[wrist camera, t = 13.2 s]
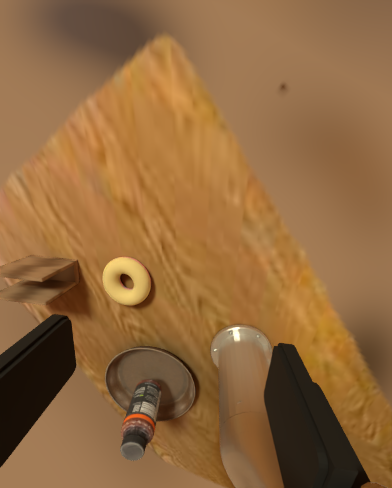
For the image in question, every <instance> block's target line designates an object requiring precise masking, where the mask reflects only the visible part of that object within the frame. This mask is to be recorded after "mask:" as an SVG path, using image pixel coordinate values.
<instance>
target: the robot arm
mask: <svg viewBox="0 0 392 488" xmlns="http://www.w3.org/2000/svg"><path fill="white" fill-rule="evenodd" d="M211 357H212V360H213V362H214V363H215V365H216V366H217V367H218V370H219V424H220V452H221V457H222V461H223V464H224V467H225V470H226V472H227V474H228V476H229V478H230V479H231V481H232V483H233V485H234V486H235V488H387V487H385V486H383V485H380V484H378V483H372V482H370V480H369V478H368V476H367V474H366V472H365V471H364V469H363V467H362V465H361V463H360V461H359V459H358V457H357V455H356V454H355V452H354V450H353V448H352V446H351V444H350V442H349V440H348V438H347V437H346V435H345V433H344V431H343V429H342V427H341V425H340V423H339V422H338V420H337V418H336V416H335V414H334V412H333V410H332V408H331V406H330V405H329V403H328V401H327V399H326V397H325V395H324V393H323V391H322V390H321V388H320V386H319V385H318V384H317V383H314V382H313V381H312V379H311V377H310V375H309V373H308V371H307V369H306V367H305V366H304V364H303V362H302V360H301V358H300V356H299V354H298V352H297V350H296V348H295V346H294V345H292V344H284V343H279V344H278V346H274V348H273V353H272V348H271V344H270V342H269V340H268V338H267V337H266V336H265V335H264V333H262V332H261V331H260V330H258V329H256V328H254V327H251V326H248V325H233V326H229V327H227V328H224V329H223V330H221V331H220V332H218V333H217V334H216V336H215V337H214V338H213V341H212V343H211ZM75 368H76V358H75V350H74V341H73V332H72V324H71V320H69V318H68V316H64V315H56V314H54V315H52V316H50V317H49V318H47V319H46V320H45V321H44V322H42V323H41V324H40V325H38V326H37V327H36V328H35V329H33V330H32V331H31V332H29V333H28V334H27V335H26V336H24V337H23V338H22V339H20V340H19V341H18V342H16V343H15V344H14V345H13V346H11V347H10V348H9V349H7V350H6V351H5V352H3V353H2V354H1V355H0V467H1V466H2V465H3V464H4V463H5V461H6V460H7V459H8V457H9V456H10V455H11V454H12V452H13V451H14V450H15V448H16V447H17V446H18V444H19V443H20V442H21V441H22V439H23V438H24V437H25V435H26V434H27V433H28V431H29V430H30V429H31V428H32V426H33V425H34V424H35V422H36V421H37V420H38V418H39V417H40V416H41V414H42V413H43V412H44V411H45V409H46V408H47V407H48V406H49V404H50V403H51V402H52V400H53V399H54V398H55V396H56V395H57V394H58V393H59V391H60V390H61V389H62V387H63V386H64V385H65V383H66V382H67V381H68V380H69V378H70V377H71V376H72V374H73V372H74V371H75Z"/></svg>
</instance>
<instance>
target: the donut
mask: <svg viewBox="0 0 392 488" xmlns="http://www.w3.org/2000/svg"><path fill="white" fill-rule="evenodd" d="M121 274H127V275H129V276H130V277H131V278H132V280H133V282H134V288H133V289H128V288H126V287H125V286H124V285H123V284H122V282H121V280H120V276H121ZM103 285H104V288H105V290H106V292H107V293H108V295H109V296H110V297H111V298H112V299H113V300H115V301H116V302H118V303H120V304H123V305H136V304H139V303H141V302H142V301H143V300H145V299H146V297H147V296H148V294H149V292H150V289H151V279H150V275H149V273H148V271H147V269H146V268H145V267H144V266H143V265H142V264H141V263H140V262H139V261H137V260H135V259H133V258H130V257H119V258H116V259H114V260H112V261H111V262H109V263H108V264H107V266H106V267H105V269H104V272H103Z"/></svg>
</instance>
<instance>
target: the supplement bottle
mask: <svg viewBox="0 0 392 488" xmlns="http://www.w3.org/2000/svg"><path fill="white" fill-rule="evenodd" d="M161 396H162V389H161V386H160V385H159V383H157V382H156V381H154V380H151V379H145V380H142V381H140V382H139V383H138V384H137V386H136V388H135V391H134V393H133V396H132V399H131V402H130V405H129V408H128V411H127V414H126V417H125V419H124V422H123V425H122V429H121V436H122V439H123V442H122V446H121V450H120V451H121V454H122V456H123V457H125V458H126V459H128V460H133V461H134V460H138V459H140V458H142V456H143V455H144V451H145V448H146V445H147V444H148V443H149V442H150V441H151V440H152V438H153V435H154V430H155V425H156V421H157V416H158V411H159V406H160V402H161Z"/></svg>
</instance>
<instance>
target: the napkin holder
mask: <svg viewBox="0 0 392 488" xmlns="http://www.w3.org/2000/svg"><path fill="white" fill-rule="evenodd" d="M0 277H6V278H14V279H23V280H22V281H20V282H18V283H16V284H14V285H12V286H10V287H7V288H5V289H3V290H1V291H0V300H6V301H14V302H22V303H30V304H38V305H47V304H49V303H50V302H52V301H53V300H55V299H56V298H58V297H59V296H60V295H62V294H63V293H65V292H66V291H68V290H69V289H71V288H72V287H74V286H75V285H76V284H78V283H79V272H78V261H77V260H72V259H63V258H53V257H44V256H35V255H30V256H28V257H25V258H22V259H19V260H16V261H14V262H11V263H8V264H5V265H3V266H0Z"/></svg>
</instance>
